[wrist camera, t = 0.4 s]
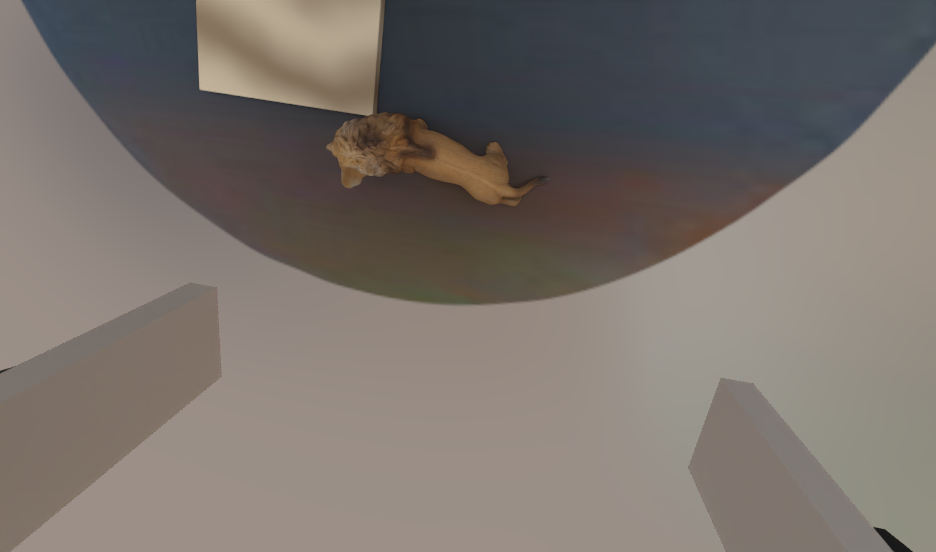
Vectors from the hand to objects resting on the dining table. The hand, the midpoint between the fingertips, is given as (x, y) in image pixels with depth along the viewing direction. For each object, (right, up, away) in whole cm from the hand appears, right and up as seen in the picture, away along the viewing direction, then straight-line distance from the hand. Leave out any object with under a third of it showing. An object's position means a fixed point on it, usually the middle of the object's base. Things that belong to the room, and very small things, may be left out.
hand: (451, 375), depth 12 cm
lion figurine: (-1, +12, +25) cm, 27 cm away
